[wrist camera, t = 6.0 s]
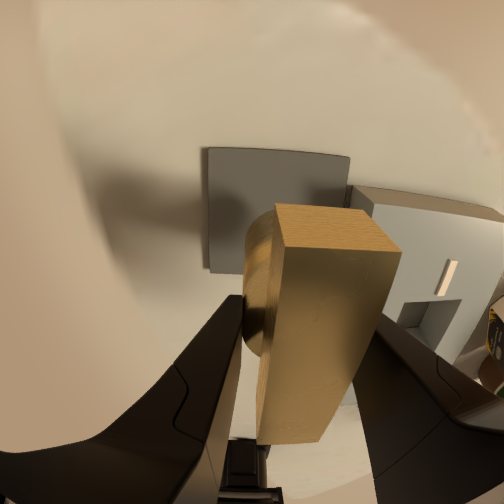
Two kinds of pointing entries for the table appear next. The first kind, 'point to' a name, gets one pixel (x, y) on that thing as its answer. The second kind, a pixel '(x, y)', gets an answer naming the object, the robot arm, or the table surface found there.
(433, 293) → the grey socket block
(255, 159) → the pad
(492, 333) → the medicine bottle
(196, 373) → the robot arm
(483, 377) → the beer bottle
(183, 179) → the table surface
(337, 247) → the t key
